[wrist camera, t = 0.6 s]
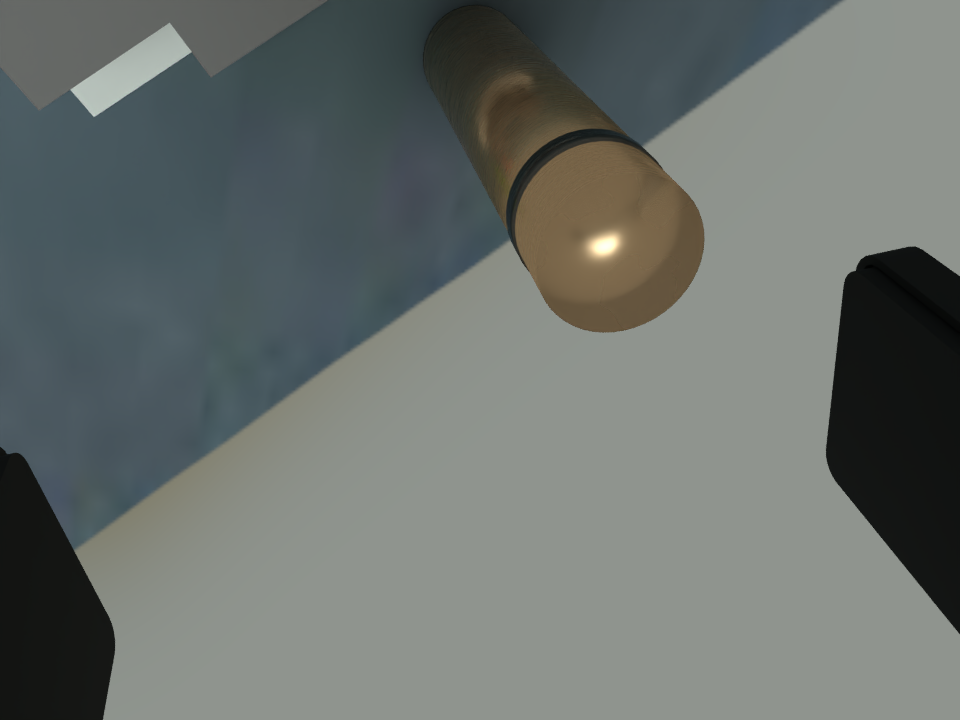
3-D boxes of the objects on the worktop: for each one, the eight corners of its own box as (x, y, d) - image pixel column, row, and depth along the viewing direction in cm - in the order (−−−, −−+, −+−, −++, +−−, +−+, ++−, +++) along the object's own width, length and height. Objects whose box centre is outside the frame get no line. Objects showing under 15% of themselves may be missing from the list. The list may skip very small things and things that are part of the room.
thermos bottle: (493, -18, 34) (667, 134, 19) (541, 75, 37) (730, 276, 22) (401, 41, 35) (501, 235, 20) (454, 129, 37) (580, 362, 22)
